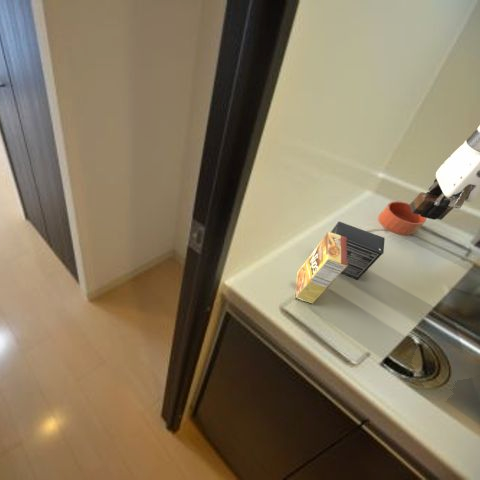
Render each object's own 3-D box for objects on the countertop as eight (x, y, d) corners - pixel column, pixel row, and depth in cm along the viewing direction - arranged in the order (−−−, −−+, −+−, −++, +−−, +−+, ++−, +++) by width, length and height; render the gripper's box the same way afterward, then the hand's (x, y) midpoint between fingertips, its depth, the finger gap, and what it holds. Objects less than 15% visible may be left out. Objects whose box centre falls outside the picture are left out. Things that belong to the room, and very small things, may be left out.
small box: (360, 263, 85) (386, 236, 77) (358, 280, 81) (384, 254, 74) (318, 246, 89) (339, 219, 81) (314, 262, 85) (335, 235, 77)
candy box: (296, 272, 83) (326, 230, 71) (314, 277, 82) (347, 236, 70) (293, 299, 77) (326, 258, 66) (312, 305, 76) (349, 265, 65)
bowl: (411, 217, 98) (422, 206, 95) (417, 239, 92) (429, 228, 89) (376, 209, 100) (385, 197, 97) (380, 229, 94) (390, 218, 91)
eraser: (437, 211, 78) (450, 198, 75) (441, 219, 76) (454, 207, 73) (409, 204, 79) (421, 191, 76) (412, 213, 77) (424, 200, 74)
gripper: (534, 170, 58) (453, 240, 71) (499, 128, 68) (434, 195, 82) (484, 161, 59) (414, 230, 73) (458, 120, 70) (401, 188, 83)
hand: (425, 211), depth 77 cm, fingers closed on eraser, 3 cm apart
